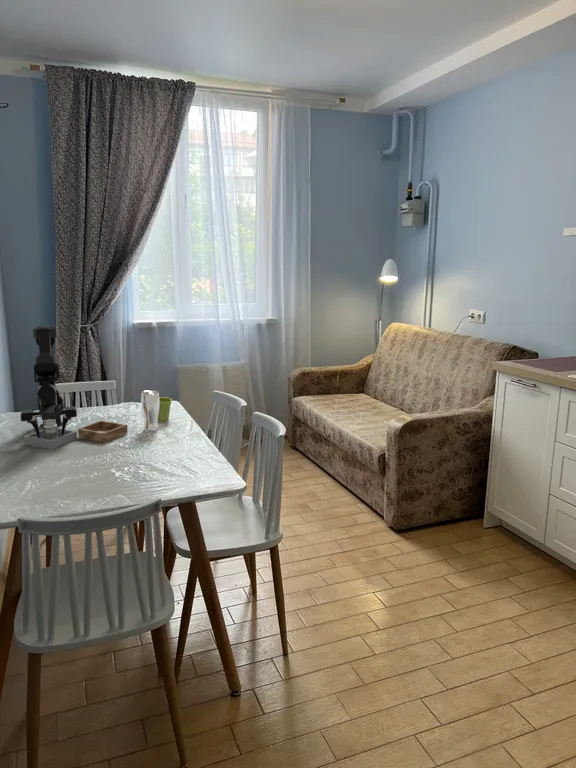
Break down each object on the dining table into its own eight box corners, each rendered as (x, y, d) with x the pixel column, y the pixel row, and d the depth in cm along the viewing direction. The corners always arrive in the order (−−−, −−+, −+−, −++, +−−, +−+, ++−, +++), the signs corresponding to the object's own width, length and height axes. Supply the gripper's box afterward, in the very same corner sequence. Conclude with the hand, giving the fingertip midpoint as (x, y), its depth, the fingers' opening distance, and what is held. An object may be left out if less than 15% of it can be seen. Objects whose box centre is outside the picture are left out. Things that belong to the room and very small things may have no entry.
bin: (24, 443, 210) (24, 436, 209) (51, 434, 221) (51, 426, 221) (51, 449, 205) (50, 441, 205) (77, 439, 216) (76, 431, 216)
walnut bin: (78, 437, 218) (78, 428, 217) (101, 428, 229) (101, 420, 228) (105, 442, 213) (104, 433, 212) (127, 433, 224) (127, 424, 223)
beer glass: (162, 426, 233) (161, 390, 230) (157, 432, 226) (156, 394, 223) (145, 426, 234) (144, 389, 230) (139, 431, 227) (138, 394, 224)
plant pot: (176, 418, 246) (175, 398, 244) (166, 424, 237) (166, 403, 235) (156, 416, 248) (155, 396, 246) (145, 422, 239) (145, 401, 237)
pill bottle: (46, 439, 215) (45, 417, 214) (59, 439, 216) (58, 417, 214) (42, 443, 211) (40, 421, 209) (56, 443, 211) (54, 421, 209)
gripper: (18, 402, 199) (21, 445, 202) (75, 398, 205) (78, 440, 209) (19, 394, 209) (23, 436, 212) (75, 391, 215) (77, 431, 219)
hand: (51, 436), depth 213 cm, fingers open, 8 cm apart
